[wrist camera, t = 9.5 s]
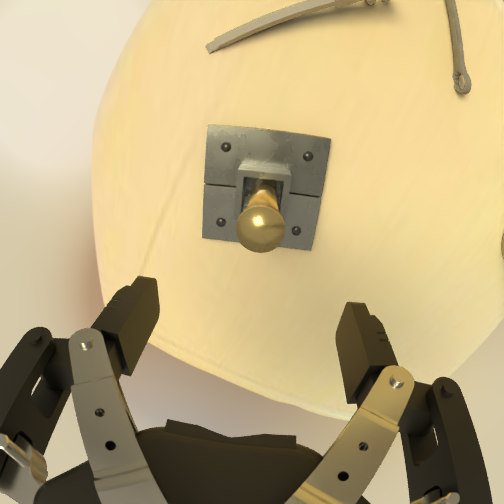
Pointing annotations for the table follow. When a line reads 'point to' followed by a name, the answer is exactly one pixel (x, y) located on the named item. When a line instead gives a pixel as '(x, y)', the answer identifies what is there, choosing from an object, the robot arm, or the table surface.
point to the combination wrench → (457, 49)
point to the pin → (261, 219)
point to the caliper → (276, 20)
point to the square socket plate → (265, 167)
